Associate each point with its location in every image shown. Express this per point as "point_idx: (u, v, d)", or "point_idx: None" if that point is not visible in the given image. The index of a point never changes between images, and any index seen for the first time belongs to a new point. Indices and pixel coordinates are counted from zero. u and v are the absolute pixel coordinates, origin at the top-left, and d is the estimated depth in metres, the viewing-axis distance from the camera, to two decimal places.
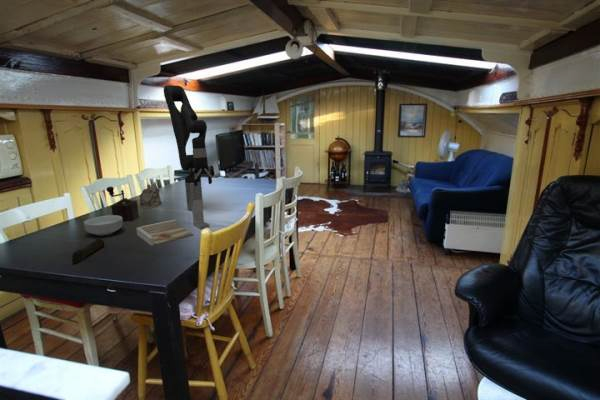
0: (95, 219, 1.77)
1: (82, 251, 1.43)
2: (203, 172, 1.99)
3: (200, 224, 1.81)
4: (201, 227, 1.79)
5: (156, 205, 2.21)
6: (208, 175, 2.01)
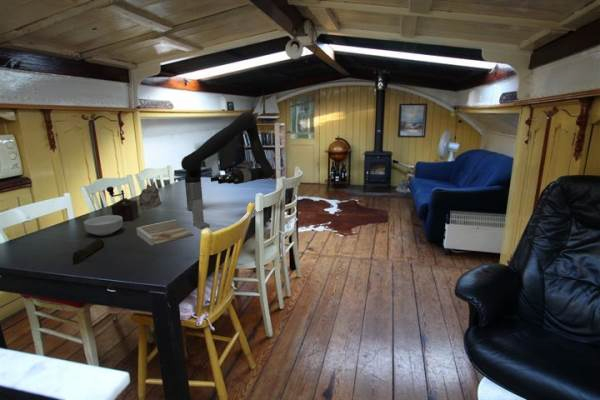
0: (95, 219, 1.77)
1: (83, 251, 1.43)
2: None
3: (200, 224, 1.81)
4: (201, 227, 1.79)
5: (155, 205, 2.21)
6: None
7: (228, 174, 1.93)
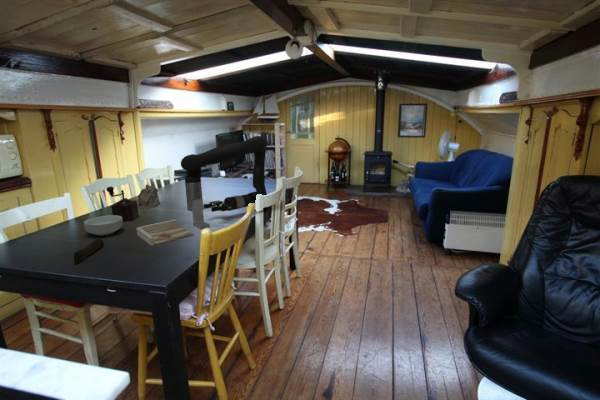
0: (95, 219, 1.77)
1: (84, 251, 1.43)
2: None
3: (200, 224, 1.81)
4: (201, 227, 1.79)
5: (154, 205, 2.21)
6: (213, 206, 1.93)
7: (221, 201, 1.94)
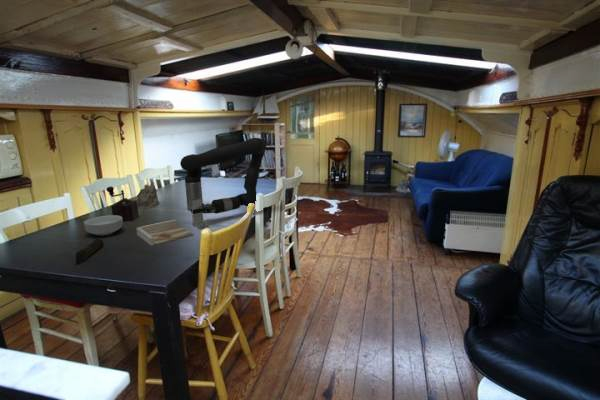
0: (95, 219, 1.77)
1: (85, 251, 1.43)
2: None
3: (200, 224, 1.81)
4: (201, 227, 1.79)
5: (154, 205, 2.21)
6: None
7: None
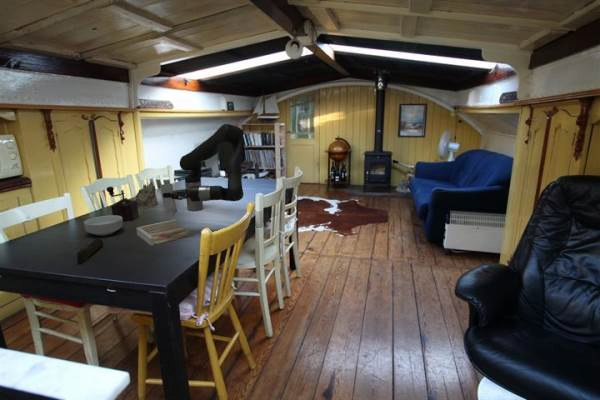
0: (95, 219, 1.77)
1: (86, 251, 1.43)
2: None
3: (166, 212, 1.65)
4: (163, 215, 1.62)
5: (152, 205, 2.21)
6: None
7: (186, 189, 1.69)
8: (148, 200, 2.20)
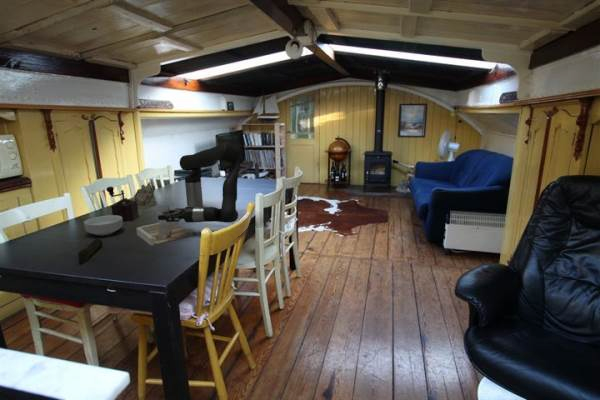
0: (95, 219, 1.77)
1: (87, 251, 1.43)
2: None
3: (160, 233, 1.66)
4: (156, 237, 1.64)
5: (151, 205, 2.21)
6: None
7: (181, 209, 1.70)
8: (146, 200, 2.20)
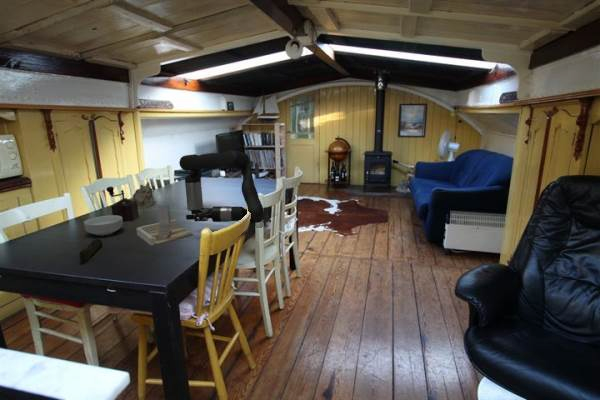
0: (95, 219, 1.77)
1: (88, 251, 1.43)
2: None
3: (160, 233, 1.66)
4: (156, 237, 1.64)
5: (150, 205, 2.21)
6: None
7: (208, 209, 1.70)
8: (145, 200, 2.20)
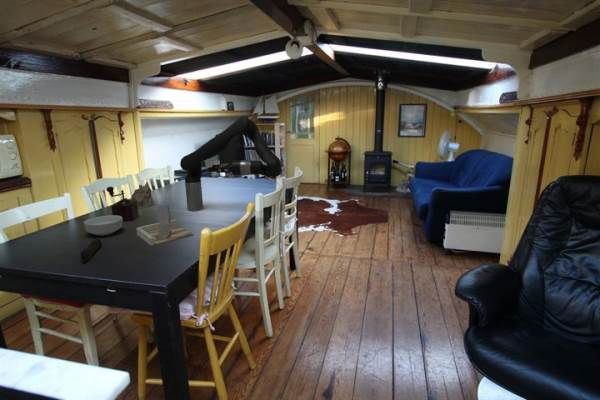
0: (95, 219, 1.77)
1: (89, 251, 1.43)
2: None
3: (160, 233, 1.66)
4: (156, 237, 1.64)
5: (149, 205, 2.21)
6: None
7: None
8: (144, 200, 2.20)
